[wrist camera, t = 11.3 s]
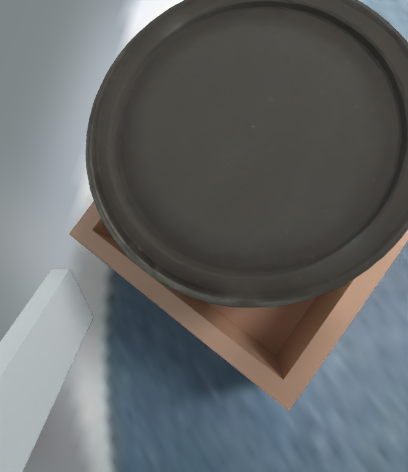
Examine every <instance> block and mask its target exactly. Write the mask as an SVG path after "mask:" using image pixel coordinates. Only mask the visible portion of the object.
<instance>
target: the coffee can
mask: <svg viewBox="0 0 408 472" xmlns="http://www.w3.org/2000/svg"><path fill="white" fill-rule="evenodd" d="M86 167H87V175H88V180H89V185H90V190H91V193H92V196H93V199H94V202H95V205H96V208H97V210H98V212H99V214H100V216H101V218H102V220H103V223H104V224H105V226H106V228H107V230H108V232H109V233H110V235H111V236H112V237H113V239H114V240H115V241H116V243H117V244H118V245H119V247H120V248H121V249H122V250H123V251H124V252H125V253H126V255H127V256H128V257H129V258H130V259H131V260H132V261H133V262H134V263H135V264H136V265H138V266H139V267H140V268H141V269H142V270H143V271H145V272H146V273H147V274H149V275H150V276H152V277H153V278H155V279H156V280H158V281H159V282H161V283H162V284H164V285H166V286H168V287H170V288H172V289H174V290H176V291H178V292H180V293H182V294H185V295H187V296H190V297H192V298H195V299H198V300H201V301H205V302H209V303H213V304H216V305H222V306H228V307H242V308H261V307H276V306H283V305H290V304H294V303H298V302H302V301H306V300H309V299H312V298H315V297H317V296H320V295H323V294H326V293H328V292H330V291H333V290H335V289H337V288H339V287H341V286H343V285H344V284H346V283H348V282H350V281H352V280H353V279H355V278H357V277H358V276H359V275H361V274H362V273H364V272H365V271H367V270H368V269H370V268H371V267H372V266H373V265H374V264H375V263H376V262H378V261H379V260H380V259H382V258H383V257H384V256H385V255H386V254H387V253H388V252H389V251H390V250H391V249H392V248H393V247H394V246H395V245H396V244H397V243H398V241H399V240H400V239H401V238H402V237H403V235H404V234H405V233H406V231H407V230H408V42H407V41H406V40H405V39H404V38H403V37H402V35H401V34H400V33H399V32H398V31H397V30H396V29H395V28H394V27H393V26H392V25H391V24H390V23H389V22H388V21H386V20H385V19H384V18H383V17H381V16H380V15H379V14H378V13H376V12H375V11H374V10H372V9H371V8H369V7H368V6H367V5H365V4H363V3H362V2H360V1H358V0H184V1H182V2H180V3H178V4H177V5H175V6H173V7H171V8H169V9H168V10H167V11H165V12H164V13H162V14H161V15H159V16H158V17H157V18H155V19H154V20H153V21H151V22H150V23H149V24H148V25H147V26H146V27H145V28H143V29H142V30H141V31H140V32H139V33H138V34H137V35H136V36H135V37H134V38H133V39H132V40H131V41H130V42H129V43H128V44H127V45H126V46H125V48H124V49H123V50H122V51H121V53H120V54H119V55H118V57H117V58H116V60H115V61H114V63H113V64H112V66H111V67H110V69H109V70H108V72H107V74H106V76H105V78H104V80H103V83H102V84H101V86H100V89H99V91H98V93H97V95H96V98H95V100H94V103H93V107H92V111H91V115H90V118H89V124H88V130H87V139H86Z"/></svg>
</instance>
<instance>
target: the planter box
mask: <svg viewBox="0 0 408 472" xmlns="http://www.w3.org/2000/svg"><path fill="white" fill-rule="evenodd" d="M70 235H71V236H72V237H73V238H75V239H76V240H77V241H78V242H80V243H81V244H82V245H83V246H85V247H86V248H87V249H88V250H90V251H91V252H92V253H93V254H95V255H96V256H97V257H98V258H99V259H101V260H102V261H103V262H104V263H106V264H107V265H108V266H109V267H111V268H112V269H113V270H114V271H116V272H117V273H118V274H119V275H121V276H122V277H123V278H124V279H126V280H127V281H128V282H129V283H131V284H132V285H133V286H134V287H135V288H137V289H138V290H139V291H140V292H142V293H143V294H144V295H145V296H147V297H148V298H149V299H150V300H152V301H153V302H154V303H155V304H157V305H158V306H159V307H160V308H162V309H163V310H164V311H165V312H167V313H168V314H169V315H170V316H171V317H173V318H174V319H175V320H176V321H178V322H179V323H180V324H181V325H183V326H184V327H185V328H186V329H188V330H189V331H190V332H191V333H193V334H194V335H195V336H196V337H198V338H199V339H200V340H201V341H202V342H204V343H205V344H206V345H207V346H209V347H210V348H211V349H212V350H214V351H215V352H216V353H217V354H219V355H220V356H221V357H222V358H224V359H225V360H226V361H227V362H229V363H230V364H231V365H232V366H234V367H235V368H236V369H237V370H238V371H240V372H241V373H242V374H243V375H245V376H246V377H247V378H248V379H250V380H251V381H252V382H253V383H255V384H256V385H257V386H258V387H260V388H261V389H262V390H263V391H265V392H266V393H267V394H268V395H270V396H271V397H272V398H273V399H274V400H276V401H277V402H278V403H279V404H281V405H282V406H283V407H284V408H286V409H287V410H288V411H290V409H291V408H292V406H293V405H294V403H295V402H296V401H297V399H298V398H299V396H300V395H301V393H302V392H303V391H304V389H305V388H306V386H307V385H308V383H309V382H310V380H311V379H312V378H313V376H314V375H315V373H316V372H317V370H318V369H319V367H320V366H321V365H322V363H323V362H324V360H325V359H326V357H327V356H328V355H329V353H330V352H331V350H332V349H333V347H334V346H335V344H336V343H337V342H338V340H339V339H340V337H341V336H342V334H343V333H344V332H345V330H346V329H347V327H348V326H349V324H350V323H351V321H352V320H353V319H354V317H355V316H356V314H357V313H358V311H359V310H360V309H361V307H362V306H363V304H364V303H365V301H366V300H367V298H368V297H369V296H370V294H371V293H372V291H373V290H374V288H375V287H376V286H377V284H378V283H379V281H380V280H381V278H382V277H383V275H384V274H385V273H386V271H387V270H388V268H389V267H390V265H391V264H392V263H393V261H394V260H395V258H396V257H397V255H398V254H399V252H400V251H401V250H402V248H403V247H404V245H405V244H406V242H407V241H408V230H407V231H406V233H405V234H404V235H403V237H402V238H401V239H400V240H399V241H398V243H397V244H396V245H395V246H394V247H393V248H392V249H391V250H390V251H389V252H388V253H387V254H386V255H385V256H384V257H383V258H382V259H380V260H379V261H378V262H376V263H375V264H374V265H373V266H372V267H371V268H370V269H368V270H367V271H365V272H364V273H362V274H361V275H359V276H358V277H357V278H355V279H353V280H352V281H350V282H348V283H346V284H344V285H343V286H341V287H339V288H337V289H335V290H333V291H330V292H328V293H326V294H323V295H320V296H317V297H315V298H312V299H309V300H306V301H302V302H298V303H294V304H290V305H283V306H276V307H261V308H242V307H228V306H222V305H216V304H213V303H209V302H205V301H201V300H198V299H195V298H192V297H190V296H187V295H185V294H182V293H180V292H178V291H176V290H174V289H172V288H170V287H168V286H166V285H164V284H162V283H161V282H159V281H158V280H156V279H155V278H153V277H152V276H150V275H149V274H147V273H146V272H145V271H143V270H142V269H141V268H140V267H139V266H138V265H136V264H135V263H134V262H133V261H132V260H131V259H130V258H129V257H128V256H127V255H126V253H125V252H124V251H123V250H122V249H121V248H120V247H119V245H118V244H117V243H116V241H115V240H114V239H113V237H112V236H111V235H110V233H109V232H108V230H107V228H106V226H105V224H104V223H103V220H102V218H101V216H100V214H99V212H98V210H97V208H96V205H95V202H93V203H92V205H91V206H90V207H89V209H88V210H87V211H86V213H85V214H84V215H83V217H82V218H81V219H80V221H79V222H78V223H77V225H76V226H75V227H74V229H73V230H72V231H71V233H70Z"/></svg>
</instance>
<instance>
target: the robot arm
mask: <svg viewBox="0 0 408 472" xmlns="http://www.w3.org/2000/svg"><path fill="white" fill-rule="evenodd" d="M93 317H94V315H93V313H92V311H91V309H90V307H89V305H88V303H87V301H86V299H85V297H84V295H83V293H82V291H81V289H80V287H79V285H78V283H77V281H76V279H75V277H74V275H73V273H72V271H71V269H70V268H59V269H52V270H51V271H50V272H49V274H48V275H47V276H46V278H45V279H44V281H43V282H42V283H41V285H40V286H39V288H38V289H37V291H36V292H35V293H34V295H33V296H32V298H31V299H30V301H29V302H28V303H27V305H26V306H25V308H24V309H23V310H22V312H21V313H20V315H19V316H18V318H17V319H16V320H15V322H14V323H13V325H12V326H11V328H10V329H9V330H8V332H7V333H6V335H5V336H4V338H3V339H2V340H1V342H0V472H23V470H24V468H25V465H26V463H27V461H28V459H29V457H30V454H31V452H32V450H33V448H34V446H35V444H36V441H37V439H38V437H39V435H40V433H41V430H42V428H43V426H44V424H45V422H46V419H47V417H48V415H49V413H50V411H51V409H52V407H53V404H54V402H55V400H56V398H57V396H58V393H59V391H60V389H61V387H62V385H63V383H64V380H65V378H66V376H67V374H68V372H69V369H70V367H71V365H72V363H73V361H74V359H75V356H76V354H77V352H78V350H79V348H80V345H81V343H82V341H83V339H84V337H85V335H86V332H87V330H88V328H89V326H90V324H91V321H92V319H93Z"/></svg>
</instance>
